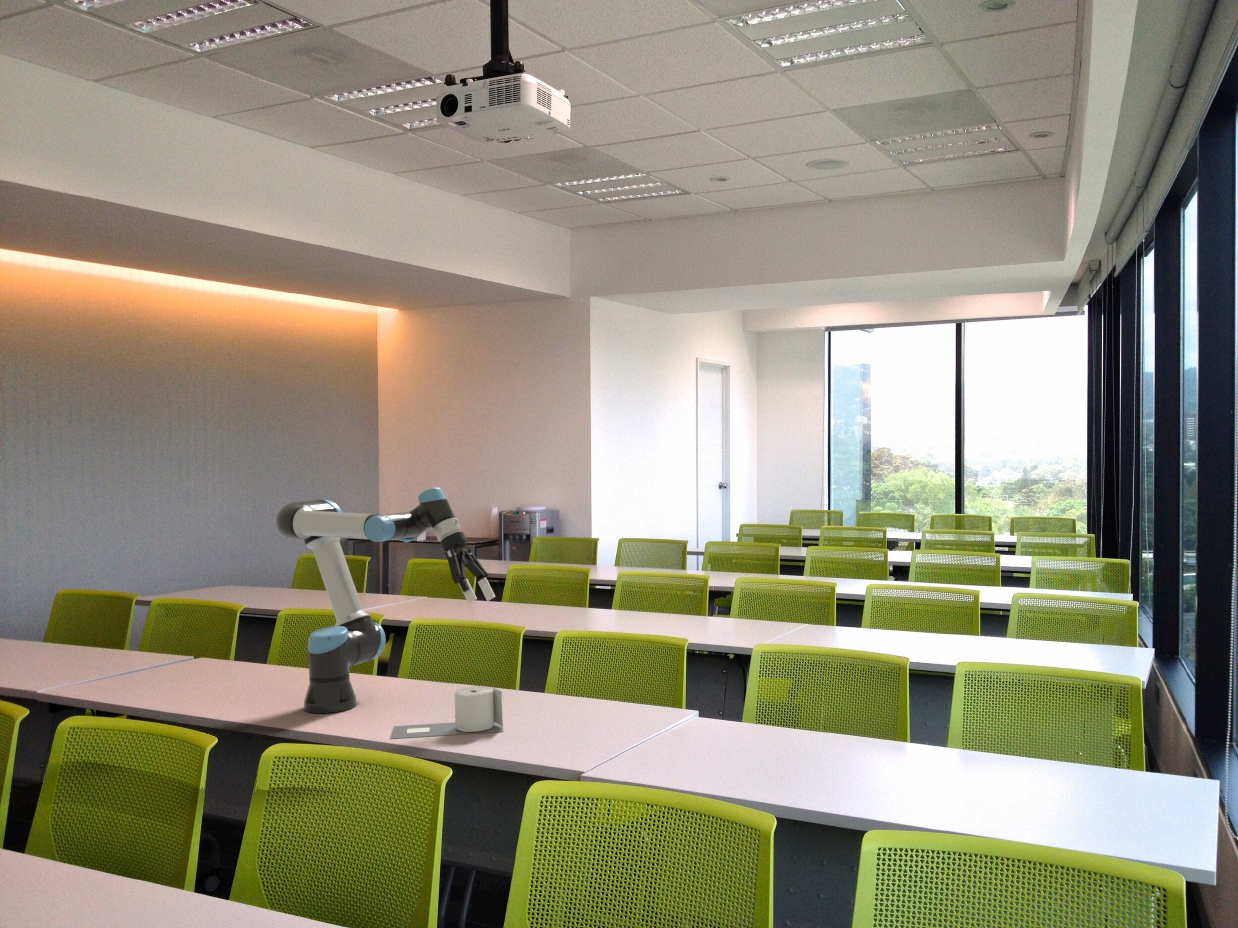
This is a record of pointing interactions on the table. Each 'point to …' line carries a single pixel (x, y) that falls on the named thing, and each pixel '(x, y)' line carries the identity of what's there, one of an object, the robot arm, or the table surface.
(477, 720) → the toilet tissue
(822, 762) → the table surface
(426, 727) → the label mat
